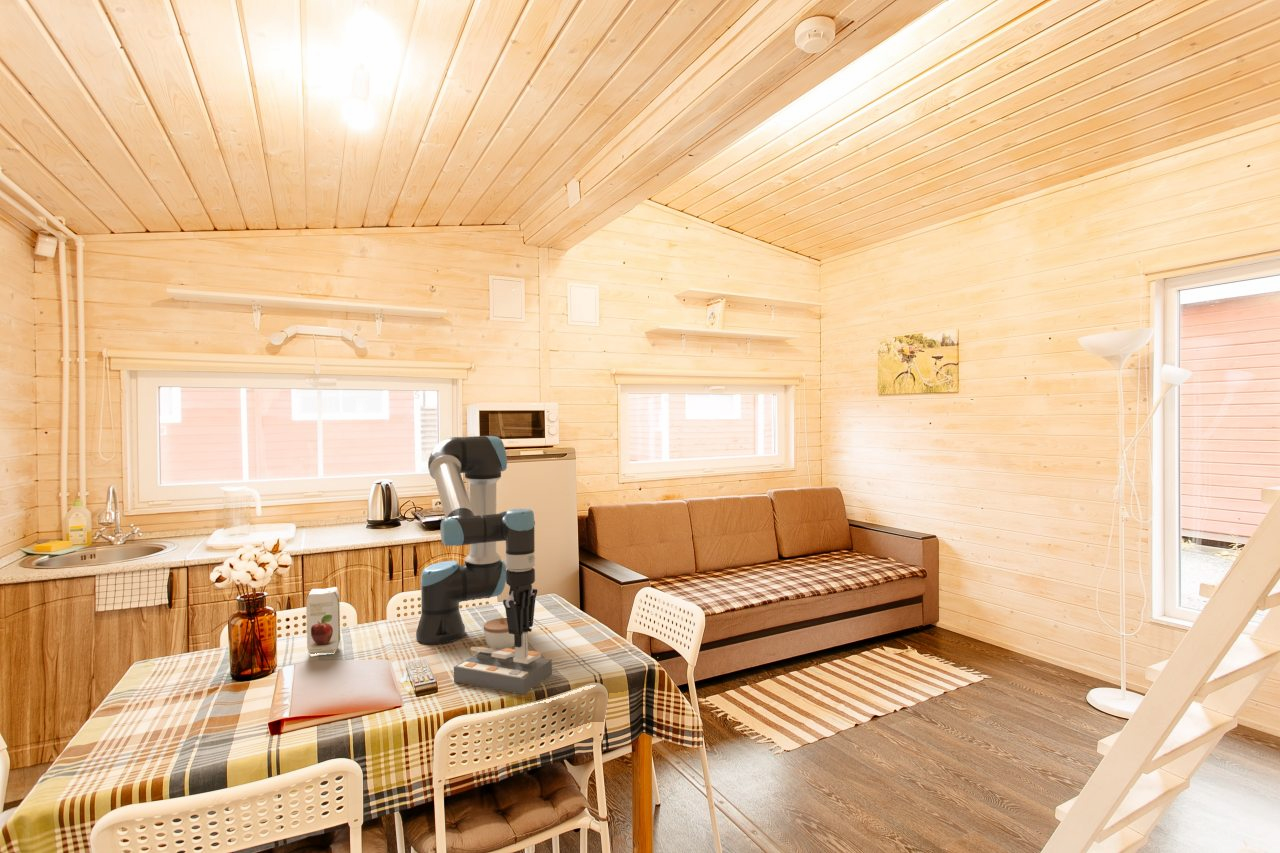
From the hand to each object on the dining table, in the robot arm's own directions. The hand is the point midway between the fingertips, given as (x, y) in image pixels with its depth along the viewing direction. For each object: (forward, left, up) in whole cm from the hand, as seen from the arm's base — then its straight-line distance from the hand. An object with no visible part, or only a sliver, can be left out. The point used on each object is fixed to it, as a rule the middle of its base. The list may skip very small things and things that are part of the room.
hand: (521, 657), depth 166 cm
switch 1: (-14, +3, -2) cm, 15 cm away
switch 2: (-7, +3, -2) cm, 8 cm away
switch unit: (-7, +2, -7) cm, 10 cm away
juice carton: (-69, -2, -8) cm, 70 cm away
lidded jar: (-20, +20, -8) cm, 29 cm away
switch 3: (0, +3, -2) cm, 3 cm away
